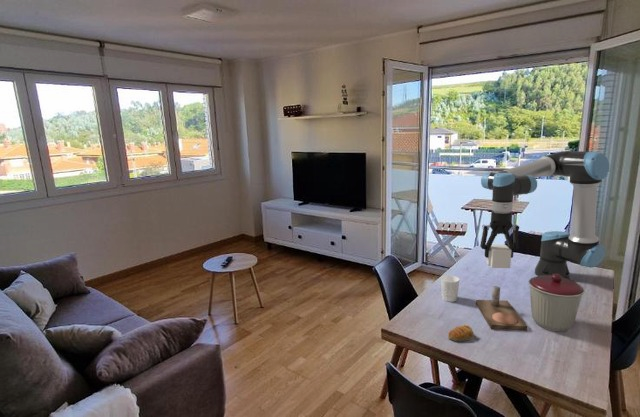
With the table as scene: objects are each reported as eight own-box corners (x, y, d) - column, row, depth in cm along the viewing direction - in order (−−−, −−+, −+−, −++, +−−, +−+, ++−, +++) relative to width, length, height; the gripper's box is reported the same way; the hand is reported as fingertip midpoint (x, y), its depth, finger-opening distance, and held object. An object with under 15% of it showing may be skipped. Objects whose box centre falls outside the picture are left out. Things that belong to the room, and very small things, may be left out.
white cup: (459, 296, 167) (460, 276, 165) (457, 303, 160) (458, 283, 158) (441, 293, 170) (442, 274, 168) (439, 301, 163) (440, 280, 161)
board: (507, 304, 157) (508, 283, 155) (526, 330, 137) (529, 306, 135) (475, 303, 159) (477, 283, 157) (491, 329, 139) (492, 305, 137)
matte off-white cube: (486, 261, 154) (487, 244, 152) (504, 261, 153) (505, 244, 151) (491, 267, 147) (493, 250, 145) (510, 268, 146) (511, 250, 144)
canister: (582, 342, 129) (589, 287, 124) (525, 330, 138) (529, 279, 133) (576, 318, 144) (582, 269, 140) (525, 309, 153) (529, 262, 149)
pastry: (456, 345, 130) (457, 335, 130) (443, 336, 136) (443, 327, 136) (476, 338, 134) (476, 329, 133) (462, 330, 140) (462, 321, 139)
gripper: (478, 213, 143) (475, 267, 148) (532, 213, 140) (527, 268, 145) (473, 209, 150) (470, 261, 155) (524, 209, 147) (520, 261, 152)
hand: (498, 264), depth 150 cm, fingers closed on matte off-white cube, 7 cm apart
